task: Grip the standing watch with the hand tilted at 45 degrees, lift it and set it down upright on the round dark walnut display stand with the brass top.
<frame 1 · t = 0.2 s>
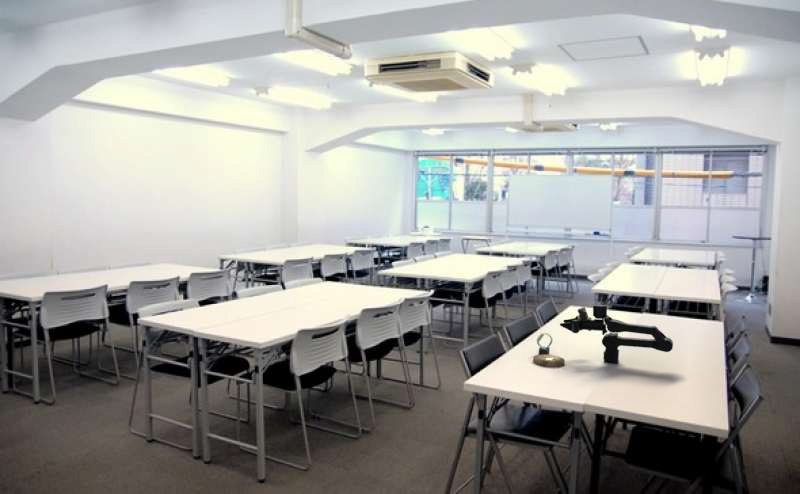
hand: (561, 322, 296), 17 cm above the table, tool horizontal, fingers open, 9 cm apart
display stand: (548, 362, 282), on the table
watch: (543, 354, 298), on the table
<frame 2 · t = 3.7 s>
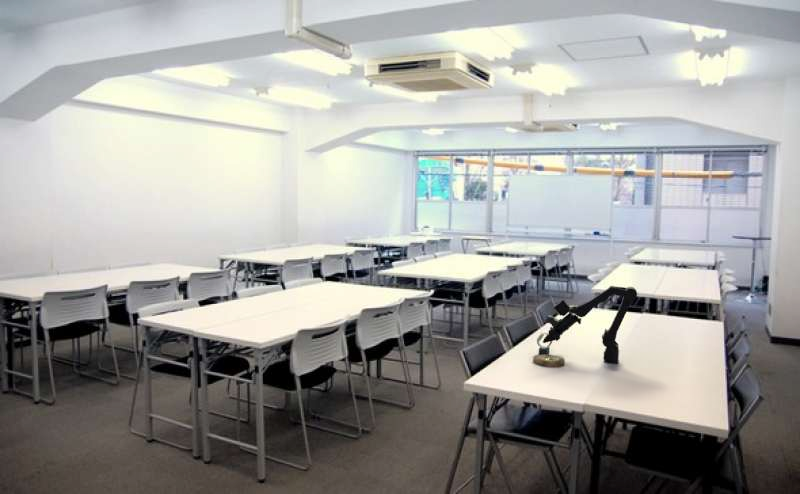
hand: (543, 341, 297), 7 cm above the table, tool tilted 45°, fingers closed on watch, 4 cm apart
watch: (543, 354, 298), on the table, touching gripper
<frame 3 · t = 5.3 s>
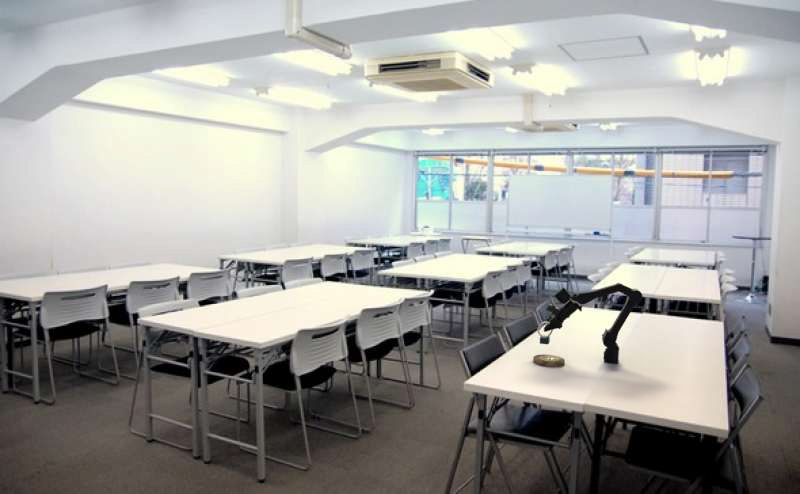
hand: (544, 330, 293), 13 cm above the table, tool tilted 45°, fingers closed on watch, 4 cm apart
watch: (544, 343, 294), point 6 cm above the table, touching gripper
when the fingers open (10 cm above the table, at t = 7.3 s): watch stays where it is, resting on display stand.
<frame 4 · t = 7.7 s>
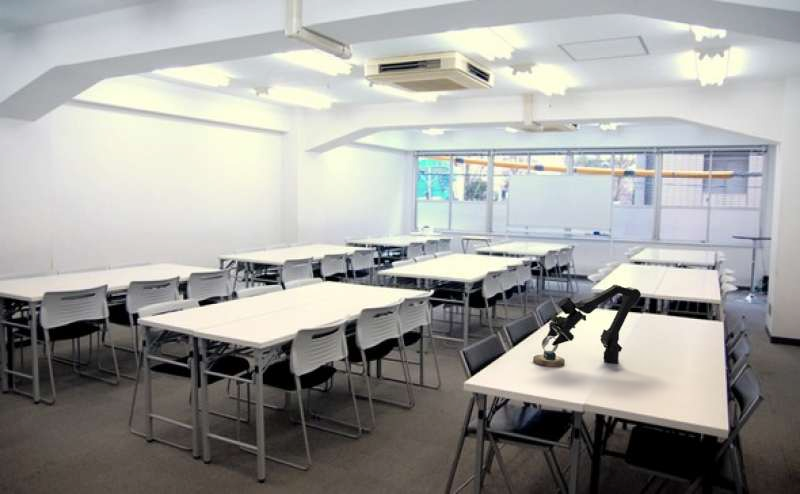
hand: (549, 342, 281), 10 cm above the table, tool tilted 45°, fingers open, 9 cm apart
watch: (549, 358, 282), point 2 cm above the table, touching display stand
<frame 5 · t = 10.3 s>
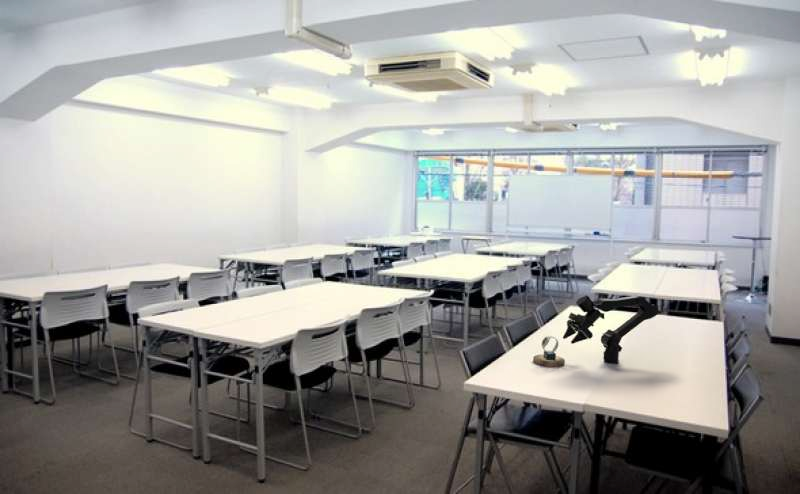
hand: (567, 340, 282), 11 cm above the table, tool tilted 45°, fingers open, 9 cm apart
nothing on the table moved.
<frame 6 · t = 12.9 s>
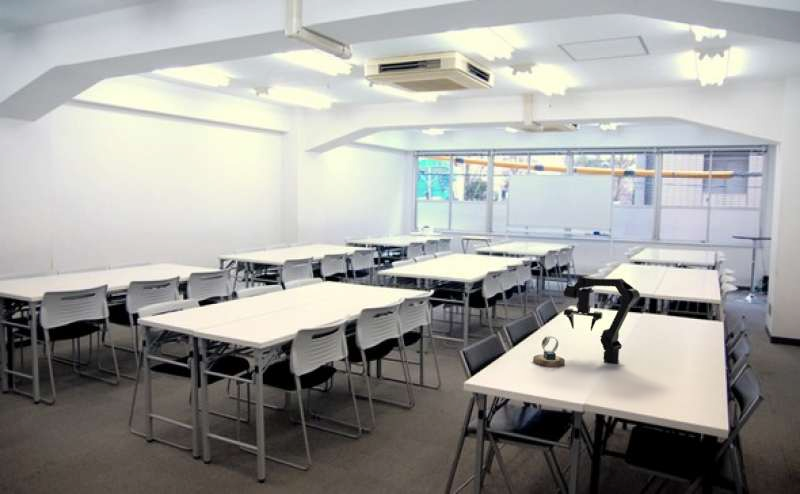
hand: (582, 329, 298), 13 cm above the table, tool pointing down, fingers open, 9 cm apart
nothing on the table moved.
at the end: watch inside the target area on the display stand (0.1 cm from its centre), point 2.0 cm above the display stand's base; watch tilted 0°; the gripper is holding nothing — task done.
